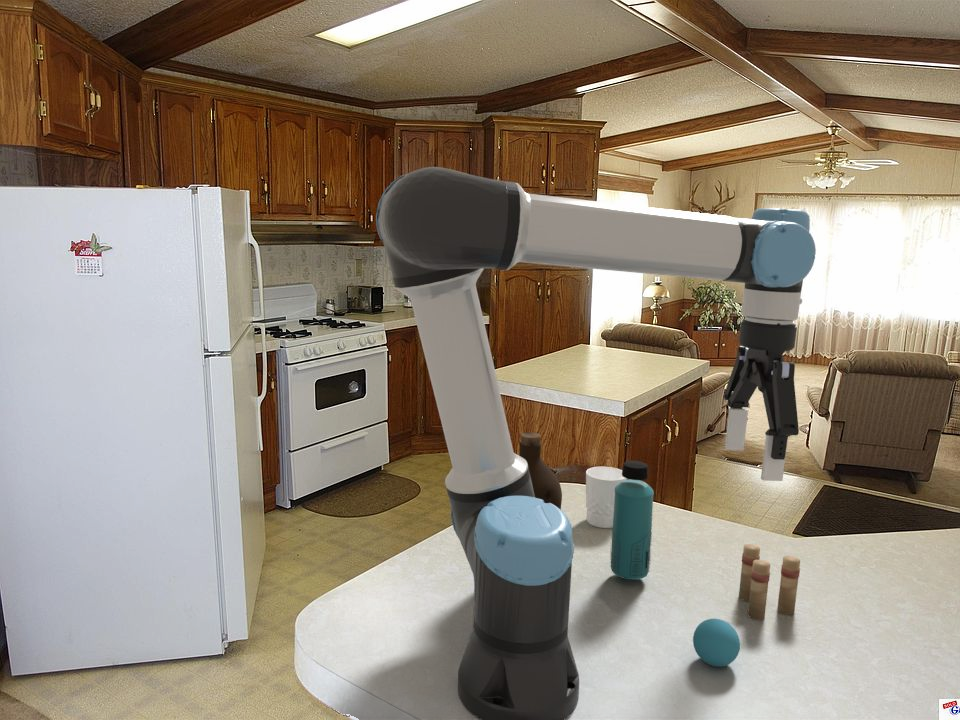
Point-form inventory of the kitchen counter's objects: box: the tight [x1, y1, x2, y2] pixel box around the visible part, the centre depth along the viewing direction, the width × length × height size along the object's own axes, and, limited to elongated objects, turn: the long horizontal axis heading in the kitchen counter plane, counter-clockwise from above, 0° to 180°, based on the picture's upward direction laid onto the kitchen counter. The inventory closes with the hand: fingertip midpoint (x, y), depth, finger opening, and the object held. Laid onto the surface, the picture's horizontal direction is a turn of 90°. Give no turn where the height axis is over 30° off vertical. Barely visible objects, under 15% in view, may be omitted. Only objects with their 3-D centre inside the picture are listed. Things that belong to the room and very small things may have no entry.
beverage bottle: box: [609, 460, 655, 580], centre depth 119 cm, size 6×7×20 cm
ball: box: [692, 618, 741, 667], centre depth 98 cm, size 6×6×6 cm
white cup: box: [585, 466, 628, 529], centre depth 143 cm, size 8×8×10 cm
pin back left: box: [738, 543, 761, 602], centre depth 115 cm, size 3×3×8 cm
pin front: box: [747, 559, 771, 621], centre depth 110 cm, size 3×3×8 cm
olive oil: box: [518, 431, 563, 510], centre depth 117 cm, size 11×11×25 cm
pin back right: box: [777, 555, 801, 616], centre depth 112 cm, size 3×2×8 cm
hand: (751, 464), depth 108 cm, fingers open, 13 cm apart
